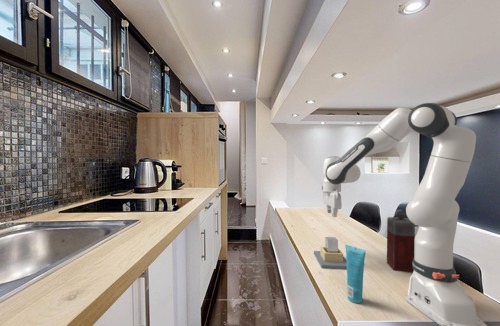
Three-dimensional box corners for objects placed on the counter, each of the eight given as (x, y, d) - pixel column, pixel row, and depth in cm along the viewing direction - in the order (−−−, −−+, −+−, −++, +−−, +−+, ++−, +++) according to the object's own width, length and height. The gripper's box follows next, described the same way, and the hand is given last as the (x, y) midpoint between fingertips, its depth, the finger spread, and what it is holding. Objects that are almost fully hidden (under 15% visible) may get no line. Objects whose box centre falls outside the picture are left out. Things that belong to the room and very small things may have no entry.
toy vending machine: (404, 262, 118) (404, 207, 118) (414, 272, 107) (415, 212, 107) (384, 260, 120) (385, 207, 120) (393, 270, 109) (394, 211, 109)
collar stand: (351, 269, 109) (351, 257, 109) (321, 268, 110) (321, 256, 110) (339, 254, 127) (339, 244, 127) (313, 253, 128) (313, 243, 128)
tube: (367, 300, 84) (368, 248, 84) (363, 306, 80) (363, 251, 80) (346, 293, 89) (347, 243, 89) (341, 298, 85) (342, 246, 86)
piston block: (337, 260, 116) (338, 240, 116) (327, 259, 116) (327, 240, 116) (334, 256, 121) (335, 237, 121) (325, 255, 121) (325, 236, 121)
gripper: (345, 190, 108) (345, 219, 108) (332, 186, 129) (332, 211, 128) (331, 190, 109) (331, 219, 108) (321, 186, 129) (320, 211, 129)
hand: (331, 214), depth 119 cm, fingers open, 8 cm apart
